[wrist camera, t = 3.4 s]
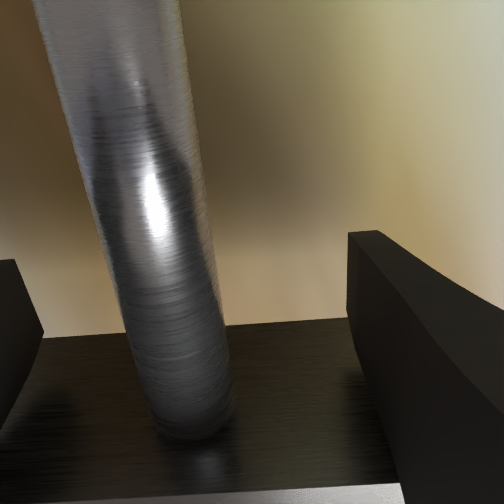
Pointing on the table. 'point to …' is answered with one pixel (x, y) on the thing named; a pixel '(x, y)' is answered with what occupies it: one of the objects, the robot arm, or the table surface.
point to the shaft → (175, 316)
